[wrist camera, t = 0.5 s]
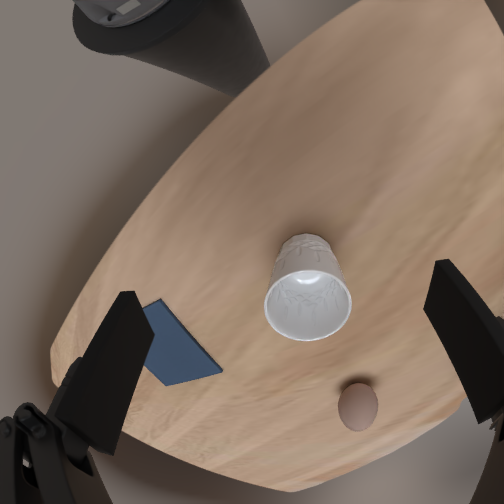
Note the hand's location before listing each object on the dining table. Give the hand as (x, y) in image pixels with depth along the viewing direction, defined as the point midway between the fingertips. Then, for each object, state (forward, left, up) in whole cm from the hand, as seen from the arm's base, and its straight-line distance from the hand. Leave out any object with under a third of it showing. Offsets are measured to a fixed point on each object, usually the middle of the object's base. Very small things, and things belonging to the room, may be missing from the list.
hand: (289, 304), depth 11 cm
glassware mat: (+12, -31, -21) cm, 39 cm away
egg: (+34, -6, -21) cm, 40 cm away
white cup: (+8, -3, -21) cm, 23 cm away
